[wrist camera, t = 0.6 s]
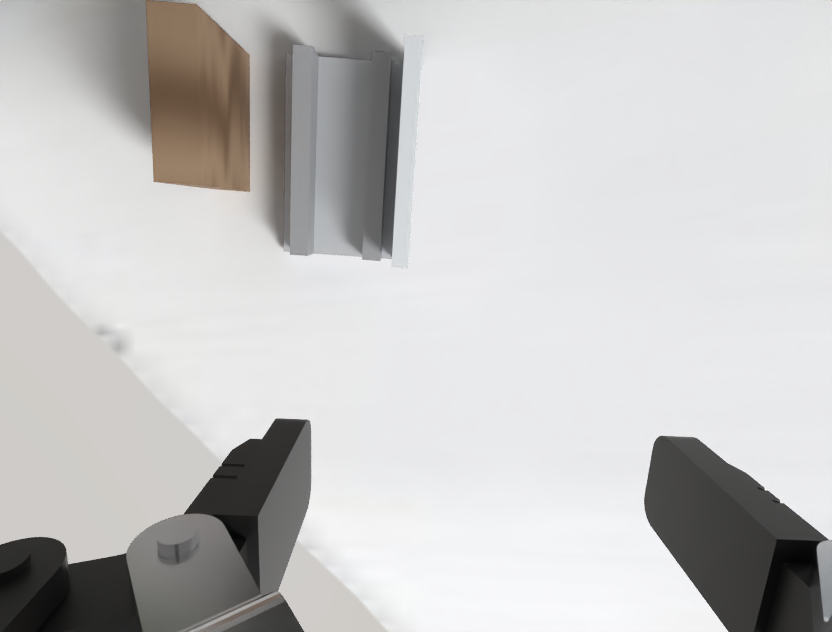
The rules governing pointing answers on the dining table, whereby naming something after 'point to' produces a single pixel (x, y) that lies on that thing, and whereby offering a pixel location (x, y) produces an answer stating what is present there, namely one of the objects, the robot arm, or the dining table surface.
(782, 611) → the robot arm
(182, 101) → the brown rectangular block
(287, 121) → the grey channel holder
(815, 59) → the dining table surface
